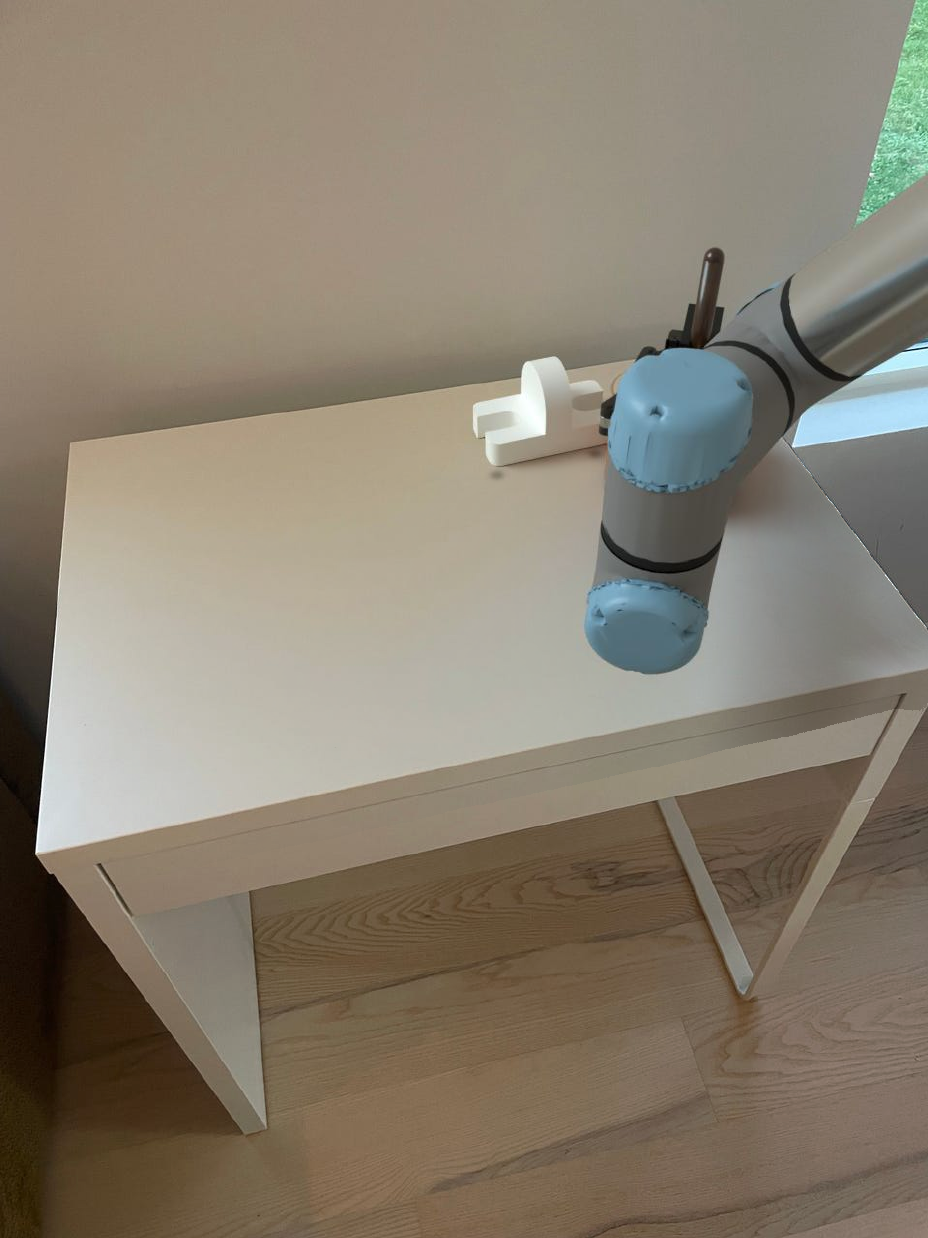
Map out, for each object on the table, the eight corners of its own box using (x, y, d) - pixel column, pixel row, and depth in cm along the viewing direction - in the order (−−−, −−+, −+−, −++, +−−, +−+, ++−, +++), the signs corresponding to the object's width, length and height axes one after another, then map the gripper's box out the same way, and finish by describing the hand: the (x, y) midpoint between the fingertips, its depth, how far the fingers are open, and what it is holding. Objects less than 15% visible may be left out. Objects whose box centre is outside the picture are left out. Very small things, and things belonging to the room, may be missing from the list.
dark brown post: (716, 439, 90) (757, 239, 76) (700, 472, 87) (740, 270, 72) (662, 426, 91) (692, 227, 77) (644, 458, 88) (673, 257, 74)
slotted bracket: (592, 400, 99) (598, 332, 93) (619, 440, 94) (627, 371, 88) (471, 425, 96) (469, 357, 91) (492, 467, 92) (492, 398, 86)
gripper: (568, 512, 74) (617, 346, 89) (763, 543, 71) (780, 366, 87) (573, 432, 69) (625, 270, 84) (786, 462, 66) (800, 289, 81)
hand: (704, 319), depth 85 cm, fingers closed on dark brown post, 2 cm apart
